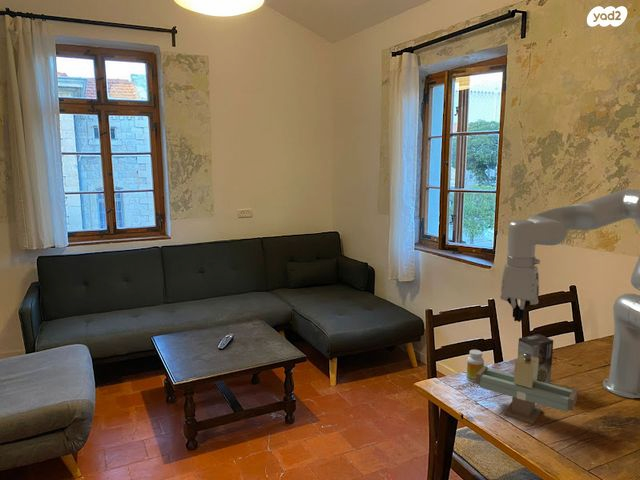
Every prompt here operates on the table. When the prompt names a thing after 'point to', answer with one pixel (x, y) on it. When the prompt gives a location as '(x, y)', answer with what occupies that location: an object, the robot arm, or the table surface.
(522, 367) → the block
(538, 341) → the coffee box
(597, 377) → the table surface
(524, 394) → the beam
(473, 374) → the supplement bottle
